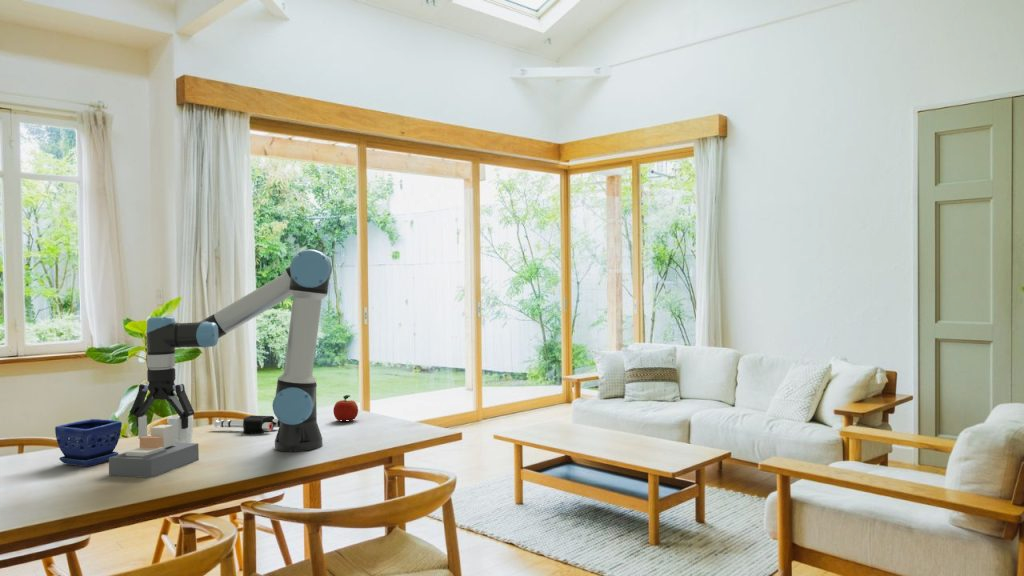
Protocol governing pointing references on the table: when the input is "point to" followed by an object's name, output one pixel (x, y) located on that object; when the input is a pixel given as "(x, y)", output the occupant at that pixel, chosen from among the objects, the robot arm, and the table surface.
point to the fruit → (345, 409)
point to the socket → (154, 461)
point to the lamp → (251, 424)
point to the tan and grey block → (146, 446)
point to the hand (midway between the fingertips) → (162, 438)
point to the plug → (164, 434)
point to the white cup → (174, 421)
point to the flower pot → (88, 441)
